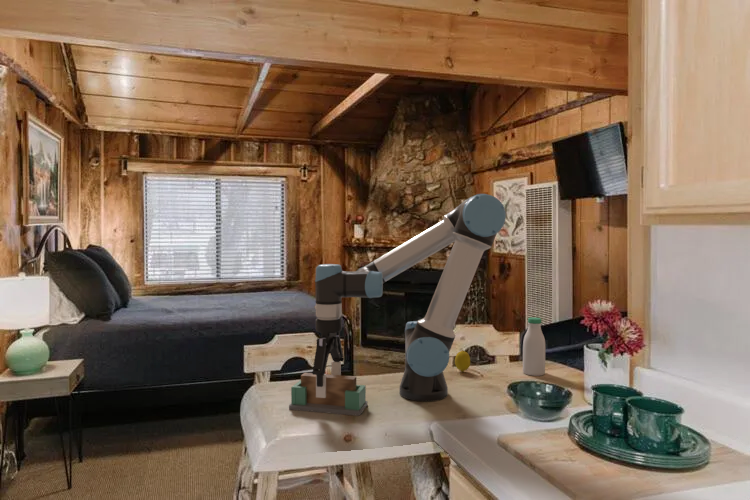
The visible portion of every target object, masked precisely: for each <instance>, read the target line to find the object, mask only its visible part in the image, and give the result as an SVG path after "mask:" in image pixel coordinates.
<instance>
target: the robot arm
mask: <svg viewBox="0 0 750 500" xmlns="http://www.w3.org/2000/svg"><path fill="white" fill-rule="evenodd" d="M506 216H507V215H506V209H505V206H504V204H503V203H502V201H501V200H499V198H497V197H495V196H494V195H491V194H487V193H477V194H474V195H472V196H470V197H468V198H466V199H465V200H464V201H462V202H461V203H460V204H459V205H458V206H456V207H455V208H454V209H453V210H451V211H450V212H448V213H447V214H445V215H443V219H442V220H441V221H439V222H437V223H435V224H433V226H430V227H429V228H427V229H426V230H424V231H422V232H421V233H419V234H417V235H415V236H414V237H411V238H410V239H408V240H406V241H405V242H403V243H402V244H400V245H398V246H397V247H395V248H393V249H392V250H390V251H389V252H388V251H387V252H386V253H384V254H383V255H381V256H379V257H378V258H376V259H374V260H373V261H371V262H370V263H368V264H366V265H365V266H362V267H360V268H358V269H357V270H356V271H345V270H343V269H342V265H341V264H337V263H336V264H335V263H323V264H318V265H317V266H316V267H315V280H314V282H315V283H314V285H315V305H314V309H315V317H316V319H315V331H316V332H318V333H320V334H321V336H320V337H319V338H316V346H315V355H314V359H313V360H314V362H313V366H312V367H313V368H312V372H311V373H312V374H313V375H316V397H319V398H326V369H327V364H328V360H329V355H330V357H331V359H332V361H331V375H342V373H341V372H342V368H341V367H342V366H341V365H342V363H341V362H344V353H343V346H342V341H341V331H343V330H342V328H343V325H342V323H343V322H342V321H343V319H342V318H341V317H342V316H343V314H342V313H343V310H342V309H343V308H342V306H343V305H342V304H343V303H342V302H343V301H342V298H364V299H365V298H369V299H372V298H381V297H382V296H383V295H384V294H383V291H384V290H383V288H384V285H383V284H384V283H386V282H387V281H390V280H391V279H392V278H394V277H396V276H398V275H400V274H402V273H403V272H405V271H406V270H408V269H410V268H412V267H414V266H415V265H417V264H419V263H420V262H422V261H424V260H425V259H427V258H429V257H431V256H432V255H435V254H436V253H437V252H440V251H441V250H443V249H444V248H447V247H449V246H450V245H452V244H453V246H452V248H451V250H450V252H449V256H448V257H447V260H446V263H445V265H444V268H443V271H442V273H441V276H440V278H439V281H438V283H437V286H436V288H435V291H434V293H433V295H432V298H431V301H430V303H429V306H428V308H427V312H426V314H425V315H424V317H423V318H420V319H418V320H413V321H407V322H406V323H405V329H404V333H405V334H404V336H405V339H404V340H405V343H404V344H405V348H404V349H405V350H404V352H405V356H404V357H405V358H404V360H405V363H404V364H405V367H404V372H403V375H402V377H401V378H402V379H401V381H400V384H399V395H400V396H401V397H402V398H405V399H407V400H410V401H417V402H436V401H440V400H444V399H446V398H447V396H448V395H449V394H448V393H449V391H448V384H447V382H446V377H445V375H444V371H445V369H447V366H448V365H449V362H450V351H451V348H452V346H453V343H454V341H455V338H456V334H455V332H454V327H455V325H456V322H457V319H458V317H459V313H460V312H461V309H462V307H463V303H464V301H465V299H466V297H467V294H468V291H469V289H470V287H471V284H472V281H473V279H474V276H475V274H476V271H477V269H478V268H479V267H478V266H479V264H480V262H481V259H482V256H483V254H484V252H485V251H487V250H489V249H491V248H492V247H493V245H494V242H495V239H496V236H497V234H498V233H499V232H500V231H501V230H502V228H503V226H504V225H505V222H506V218H507V217H506Z"/></svg>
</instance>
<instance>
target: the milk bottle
mask: <svg viewBox="0 0 750 500" xmlns="http://www.w3.org/2000/svg"><path fill="white" fill-rule="evenodd" d="M527 324H528V326H527V329H526V330H527V331H526V332H525V334H524V336H523V343H522V344H523V345H522V372H523V374H525V375H528V376H533V377H536V376H537V377H538V376H543V375H545V373H546V339H545V336H544V334H543V331H542V327H541V326H542V318H540V317H532V316H531V317H528V319H527Z"/></svg>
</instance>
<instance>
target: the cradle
mask: <svg viewBox="0 0 750 500" xmlns="http://www.w3.org/2000/svg"><path fill="white" fill-rule="evenodd" d="M366 387H367V386H366V385H365V384H356V391H349V390H346V391H345V406H335V405H324V404H313V403H307V397H306V387H301V379H300V380H299V381H297V382H296V383H295V384H293V386H291V387H290V388H291V389H290V392H291V393H290V394H291V395H290V397H291V398H290V399H291V402H290V403H289V405H288V409H289V410H295V411H304V412H305V411H306V412H315V413H324V412H325V414H338V415H345V416H346V415H348V416H355V417H359V416H360V415H361V414H362V413H363V412H364V410H366V408H367V406H368V400H367V399H366V398H367V397H366V393H367V392H366V389H367V388H366Z"/></svg>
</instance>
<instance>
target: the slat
mask: <svg viewBox="0 0 750 500" xmlns="http://www.w3.org/2000/svg"><path fill="white" fill-rule="evenodd" d="M325 374H326V373H325ZM300 380H301V387H306V397H307V403H313V404H324V405H335V406H345V391H346V390H349V391H356V385H357V376H356V375H354V376H353V375H342V374H341V375H332V374H330V373H329V374H326V398H319V397H316V375H313V374H312V372H303V373H302V374H301V375H300Z"/></svg>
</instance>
